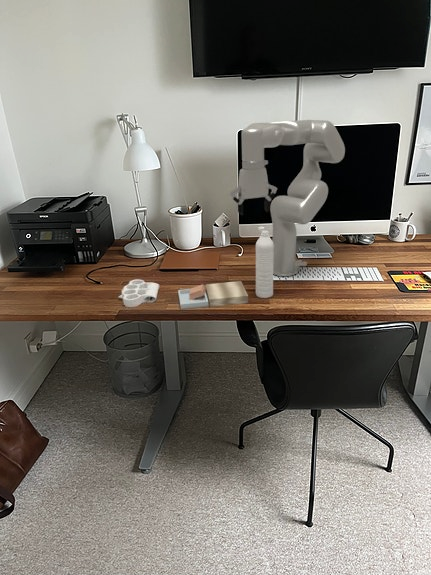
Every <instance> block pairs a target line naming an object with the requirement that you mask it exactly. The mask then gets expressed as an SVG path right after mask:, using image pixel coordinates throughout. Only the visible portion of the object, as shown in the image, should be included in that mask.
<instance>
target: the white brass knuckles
mask: <svg viewBox="0 0 431 575" xmlns="http://www.w3.org/2000/svg"><path fill="white" fill-rule="evenodd" d="M159 289H160V284H158V283H156V282H145V280H143V279H139V278H138V279H137V278H136V279H132V280H130V281H129V282H128V284H126V285H124V287H123V288H122V289H121V294H120V295H119V296H118V298H120V299H122V301H123V306H124V305H125V307H127V308H135V307H137V306H140V305H141V304H143V303H154V302H156V300H157V297H158V294H159Z"/></svg>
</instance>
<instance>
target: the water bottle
mask: <svg viewBox="0 0 431 575" xmlns="http://www.w3.org/2000/svg"><path fill="white" fill-rule="evenodd" d="M257 231H258V232H261V233H260V234H261V235H260V237H259V238H258V239H257V241H256V243H255V296H256V297H258V298H261V299H267V298H271V297H273V296H274V275H273V258H274V257H273V256H274V255H273V254H274V253H273V252H274V251H273V250H274V244H273V239H271V237H270V236H269V231H268V230H265V226H258V227H257Z"/></svg>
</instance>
